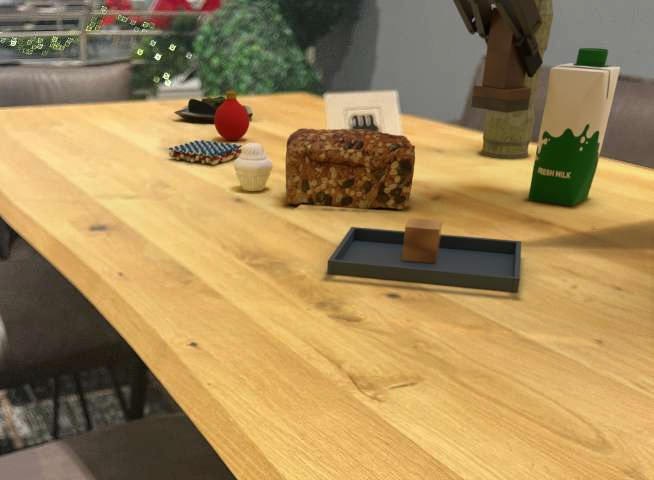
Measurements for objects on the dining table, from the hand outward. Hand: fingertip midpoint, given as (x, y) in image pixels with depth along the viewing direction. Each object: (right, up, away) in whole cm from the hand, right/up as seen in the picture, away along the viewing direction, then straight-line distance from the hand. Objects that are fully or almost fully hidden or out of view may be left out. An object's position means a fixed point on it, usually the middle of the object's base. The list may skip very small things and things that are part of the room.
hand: (521, 67), depth 115 cm
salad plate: (-52, +23, +62) cm, 84 cm away
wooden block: (-20, -36, -23) cm, 47 cm away
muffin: (-41, -16, +7) cm, 44 cm away
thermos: (+7, +1, +31) cm, 32 cm away
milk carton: (+7, -19, +4) cm, 20 cm away
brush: (-3, -6, +1) cm, 6 cm away
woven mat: (-50, -2, +26) cm, 56 cm away
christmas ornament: (-46, +8, +40) cm, 62 cm away
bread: (-26, -20, +1) cm, 33 cm away
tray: (-19, -38, -24) cm, 49 cm away
